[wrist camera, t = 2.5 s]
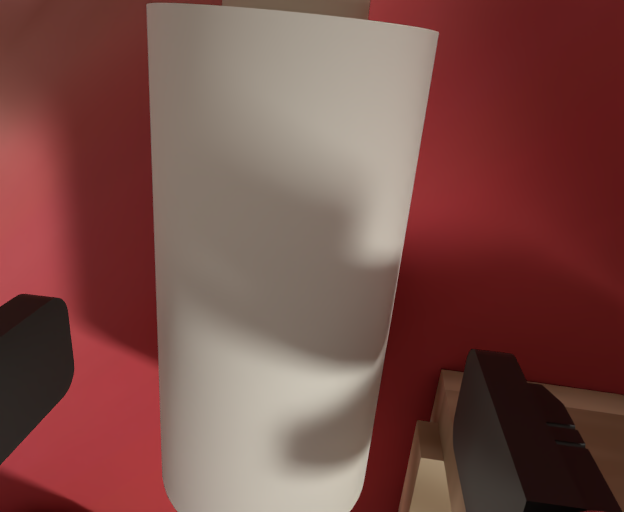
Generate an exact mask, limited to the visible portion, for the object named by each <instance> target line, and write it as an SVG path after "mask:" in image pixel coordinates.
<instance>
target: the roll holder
mask: <svg viewBox="0 0 624 512" xmlns="http://www.w3.org/2000/svg"><path fill="white" fill-rule="evenodd" d="M463 373H464V372H458V371H451V370H444V369H441V373H440V378H439V382H438V387H437V392H436V396H435V401H434V405H433V410H432V414H431V419H430V422H427V421H420V420H417V423H416V428H415V433H414V437H413V442H412V447H411V452H410V457H409V462H408V466H407V471H406V476H405V481H404V486H403V491H402V495H401V500H400V505H399V510H398V512H466V509H465V504H464V499H463V494H462V489H461V484H460V479H459V474H458V470H457V465H456V460H455V455H454V449H453V422H454V416H455V411H456V406H457V401H458V397H459V392H460V387H461V383H462V378H463ZM527 383H534V384H542V385H543V386H544V387H545V388H546V389H547V390H549V391H550V392H551V393H552V394H553V395H554V396H555V397H556V398H557V399H559V400H560V401H561V402H562V403H563V404H564V406H565V408H566V409H567V411H568V413H569V415H570V417H571V419H572V420H573V422H574V424H575V430H578V431H579V433H580V435H581V437H582V439H583V440H584V442H585V448H586V449H588V450H589V451H590V453H591V455H592V457H593V459H594V460H595V462H596V464H597V466H598V468H599V470H600V471H601V473H602V475H603V477H604V479H605V481H606V482H607V484H608V486H609V488H610V490H611V491H612V493H613V495H614V497H615V499H616V501H617V502H618V504H619V506H620V508H621V510H622V512H624V395H620V394H613V393H606V392H599V391H592V390H585V389H578V388H571V387H564V386H557V385H550V384H543V383H536V382H529V381H527Z"/></svg>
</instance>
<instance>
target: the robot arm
mask: <svg viewBox="0 0 624 512" xmlns="http://www.w3.org/2000/svg"><path fill="white" fill-rule="evenodd" d="M73 374H74V359H73V351H72V342H71V334H70V325H69V317H68V310H67V306H66V304H65V302H64V301H63V300H62V299H60V298H55V297H46V296H38V295H30V294H20V295H18V296H16V297H14V298H13V299H11V300H10V301H8V302H7V303H5V304H4V305H2V306H1V307H0V465H1V464H2V462H3V461H4V460H5V459H6V458H7V457H8V456H9V455H10V454H11V453H12V452H13V451H14V450H15V448H16V447H17V446H18V445H19V444H20V443H21V442H22V441H23V440H24V439H25V438H26V437H27V436H28V434H29V433H30V432H31V431H32V430H33V429H34V428H35V427H36V426H37V425H38V424H39V423H40V422H41V420H42V419H43V418H44V417H45V416H46V415H47V414H48V413H49V412H50V411H51V410H52V409H53V408H54V406H55V405H56V404H57V403H58V402H59V401H60V400H61V399H62V398H63V397H64V395H65V394H66V393H67V391H68V389H69V387H70V385H71V382H72V379H73ZM453 449H454V455H455V460H456V465H457V470H458V474H459V479H460V484H461V489H462V494H463V499H464V504H465V509H466V512H622V510H621V508H620V506H619V504H618V502H617V501H616V499H615V497H614V495H613V493H612V491H611V490H610V488H609V486H608V484H607V482H606V481H605V479H604V477H603V475H602V473H601V471H600V470H599V468H598V466H597V464H596V462H595V460H594V459H593V457H592V455H591V453H590V451H589V450H588V449H586V448H585V442H584V440H583V439H582V437H581V435H580V433H579V431H578V430H575V424H574V422H573V420H572V419H571V417H570V415H569V413H568V411H567V409H566V408H565V406H564V404H563V403H562V402H561V401H560V400H559V399H557V398H556V397H555V396H554V395H553V394H552V393H551V392H550V391H549V390H547V389H546V388H545V387H544V386H543V385H542V384H534V383H527V381H526V379H525V376H524V374H523V372H522V370H521V368H520V366H519V364H518V362H517V360H516V358H515V356H514V355H513V354H510V353H502V352H494V351H485V350H477V349H471V350H470V351H469V353H468V356H467V360H466V364H465V369H464V373H463V378H462V383H461V387H460V392H459V397H458V401H457V406H456V411H455V416H454V422H453Z"/></svg>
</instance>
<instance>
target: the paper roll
mask: <svg viewBox="0 0 624 512" xmlns="http://www.w3.org/2000/svg"><path fill="white" fill-rule="evenodd" d="M369 7H370V0H222V6H218V5H203V4H184V3H148V4H146V8H147V37H148V67H149V96H150V126H151V155H152V185H153V215H154V244H155V274H156V303H157V333H158V362H159V392H160V422H161V451H162V477H163V482H164V487H165V490H166V493H167V495H168V498H169V499H170V501H171V503H172V505H173V506H174V508H175V509H176V510H177V511H178V512H350V511H351V510H352V508H353V507H354V505H355V503H356V502H357V500H358V498H359V496H360V493H361V491H362V488H363V484H364V479H365V473H366V467H367V461H368V455H369V449H370V443H371V437H372V431H373V425H374V419H375V413H376V407H377V401H378V395H379V389H380V383H381V377H382V371H383V365H384V359H385V353H386V347H387V341H388V335H389V329H390V323H391V317H392V311H393V305H394V299H395V293H396V287H397V281H398V275H399V269H400V263H401V257H402V251H403V246H404V240H405V234H406V228H407V222H408V216H409V210H410V204H411V198H412V192H413V186H414V180H415V174H416V168H417V162H418V156H419V150H420V144H421V138H422V132H423V126H424V120H425V114H426V108H427V102H428V96H429V90H430V84H431V78H432V72H433V66H434V60H435V54H436V48H437V42H438V36H439V32H437V31H434V30H430V29H425V28H420V27H414V26H408V25H401V24H394V23H387V22H379V21H371V20H368V16H369Z"/></svg>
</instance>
